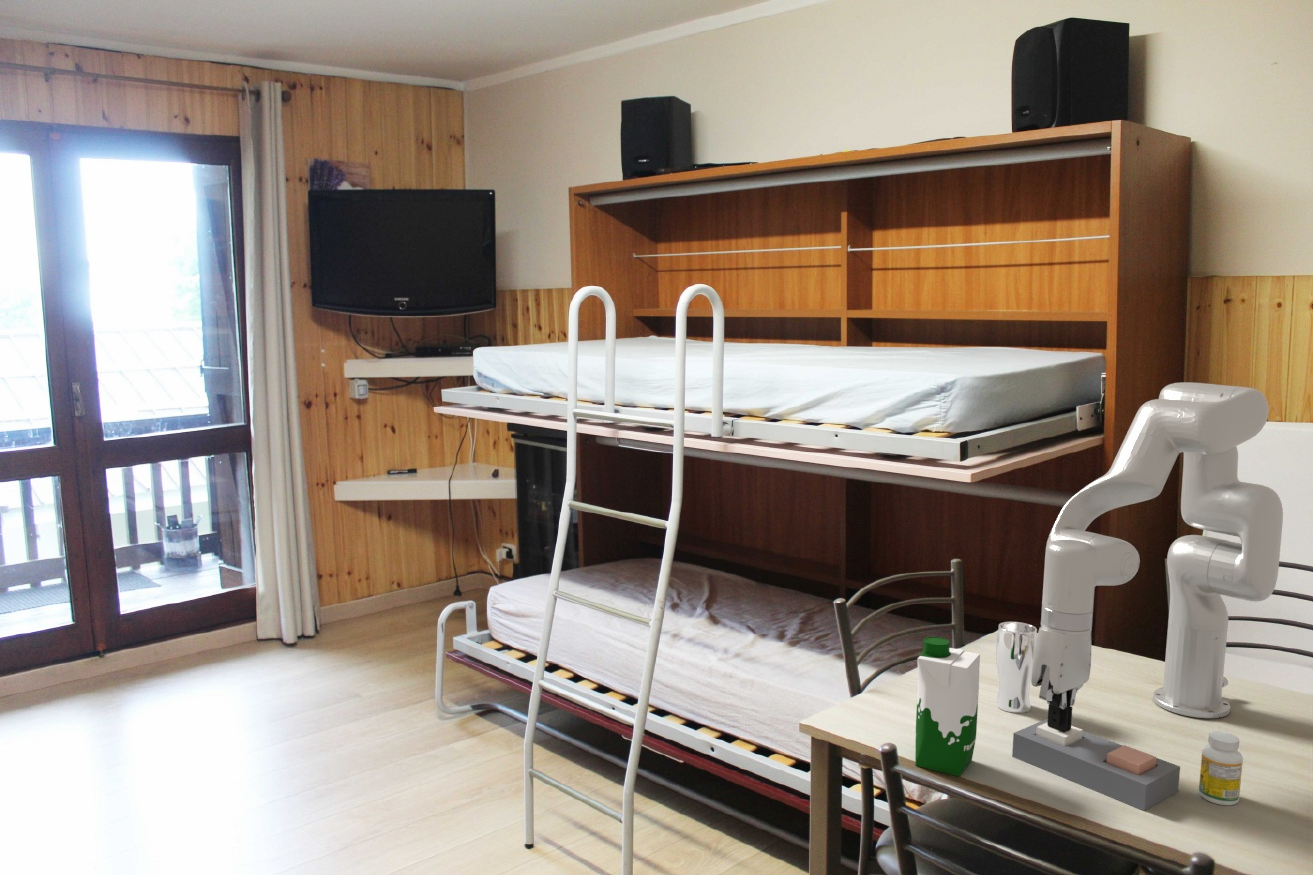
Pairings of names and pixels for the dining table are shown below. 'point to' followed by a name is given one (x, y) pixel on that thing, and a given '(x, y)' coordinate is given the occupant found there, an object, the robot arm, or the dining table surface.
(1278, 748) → the dining table surface
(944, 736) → the milk carton
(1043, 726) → the off-white key
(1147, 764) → the terracotta key
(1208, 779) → the supplement bottle
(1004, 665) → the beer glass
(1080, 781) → the key panel
